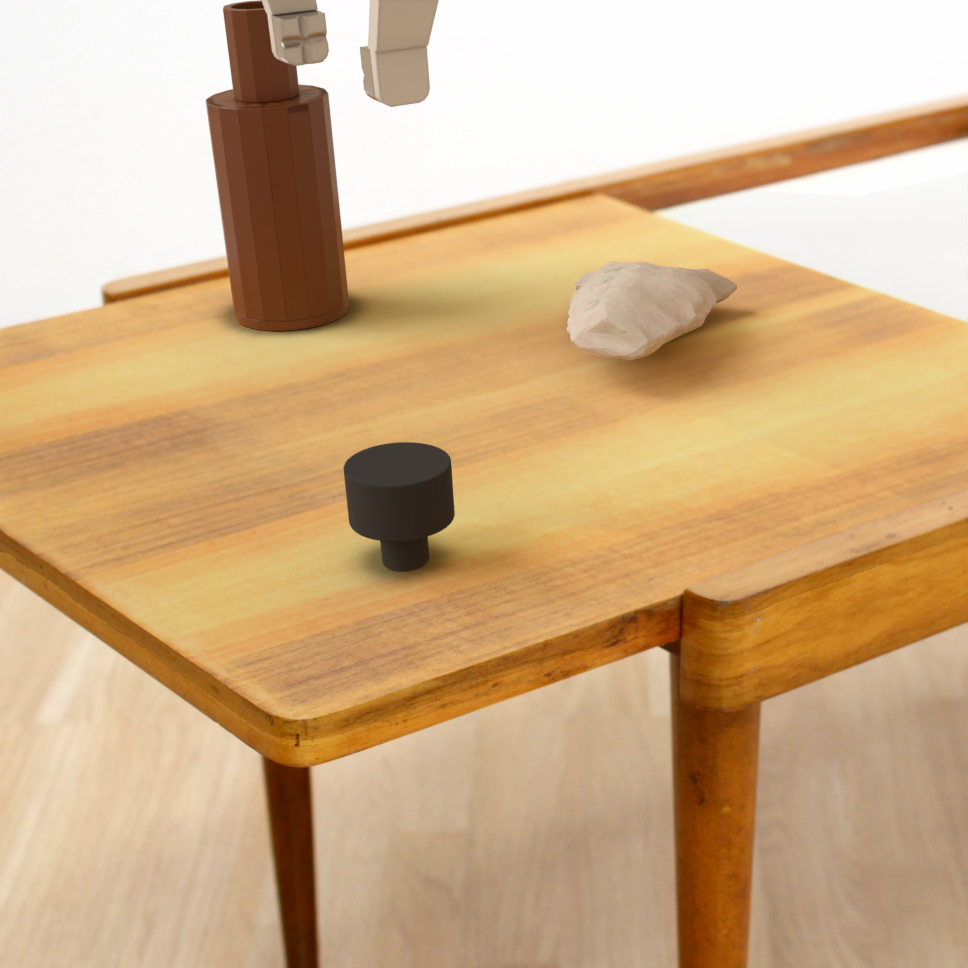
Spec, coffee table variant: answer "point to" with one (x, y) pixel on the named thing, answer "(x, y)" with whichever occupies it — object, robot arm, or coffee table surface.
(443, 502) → the bung
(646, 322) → the decorative stone
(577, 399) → the coffee table surface
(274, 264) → the bottle
